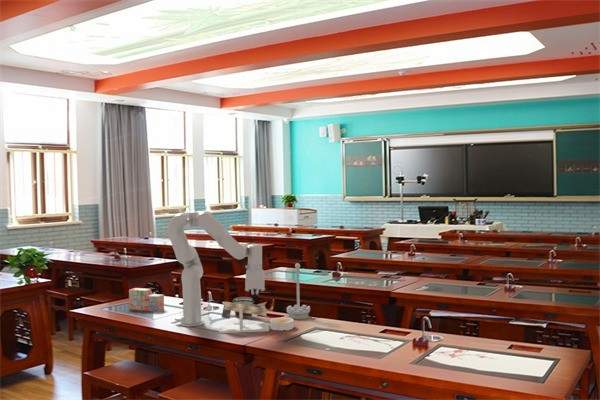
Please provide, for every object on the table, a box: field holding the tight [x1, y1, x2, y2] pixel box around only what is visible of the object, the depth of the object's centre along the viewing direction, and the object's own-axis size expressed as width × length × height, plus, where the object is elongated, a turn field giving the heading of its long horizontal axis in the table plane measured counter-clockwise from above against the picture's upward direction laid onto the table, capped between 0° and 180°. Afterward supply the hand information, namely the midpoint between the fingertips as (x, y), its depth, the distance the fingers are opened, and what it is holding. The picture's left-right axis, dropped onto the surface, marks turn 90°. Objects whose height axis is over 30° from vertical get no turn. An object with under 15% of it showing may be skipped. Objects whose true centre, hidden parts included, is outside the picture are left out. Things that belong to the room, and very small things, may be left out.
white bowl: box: [269, 317, 295, 332], centre depth 303 cm, size 12×12×4 cm
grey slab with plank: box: [221, 301, 268, 320], centre depth 307 cm, size 22×18×7 cm
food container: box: [232, 296, 254, 318], centre depth 333 cm, size 12×6×10 cm, turn 84°
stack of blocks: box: [128, 287, 165, 313], centre depth 353 cm, size 21×6×12 cm, turn 66°
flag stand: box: [286, 262, 311, 320], centre depth 328 cm, size 13×13×30 cm
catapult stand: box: [218, 309, 270, 334], centre depth 301 cm, size 25×12×11 cm, turn 96°
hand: (254, 301), depth 314 cm, fingers closed
